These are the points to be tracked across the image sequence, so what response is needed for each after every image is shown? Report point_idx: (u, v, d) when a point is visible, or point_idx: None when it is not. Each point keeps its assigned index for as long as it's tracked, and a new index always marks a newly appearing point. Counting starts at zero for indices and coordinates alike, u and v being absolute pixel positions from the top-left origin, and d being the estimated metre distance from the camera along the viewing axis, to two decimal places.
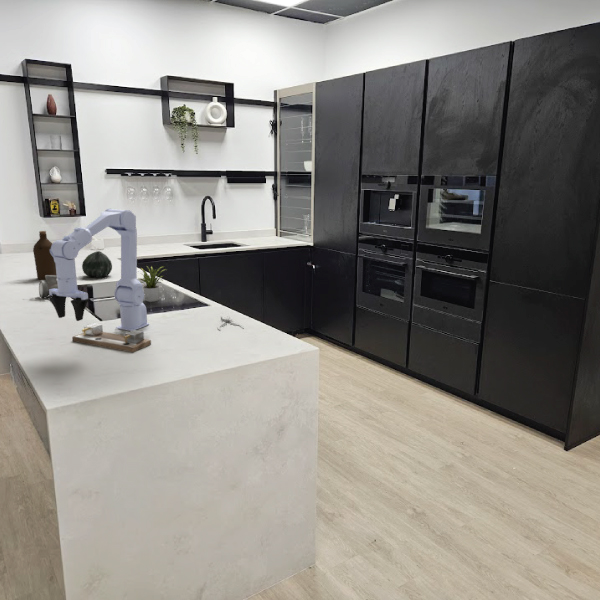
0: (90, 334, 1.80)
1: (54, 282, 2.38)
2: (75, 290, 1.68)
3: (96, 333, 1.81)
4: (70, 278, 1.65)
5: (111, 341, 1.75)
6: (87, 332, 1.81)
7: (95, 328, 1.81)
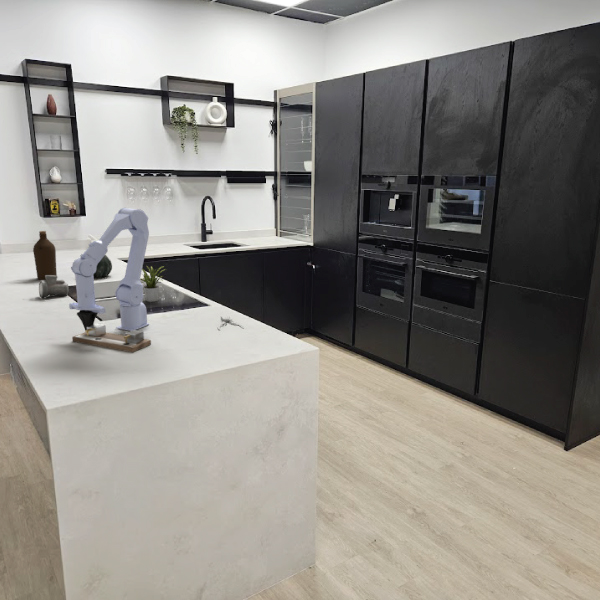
0: (93, 335, 1.80)
1: (54, 282, 2.38)
2: (93, 304, 1.80)
3: (99, 334, 1.81)
4: (87, 294, 1.78)
5: (111, 341, 1.75)
6: (90, 333, 1.80)
7: (98, 329, 1.80)
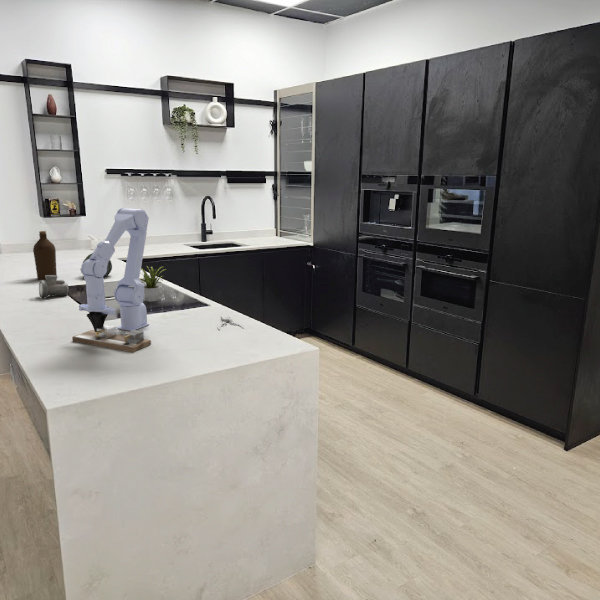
0: (103, 336, 1.78)
1: (54, 282, 2.38)
2: (103, 306, 1.79)
3: (109, 335, 1.79)
4: (99, 295, 1.76)
5: (111, 341, 1.75)
6: (100, 334, 1.79)
7: (109, 331, 1.79)
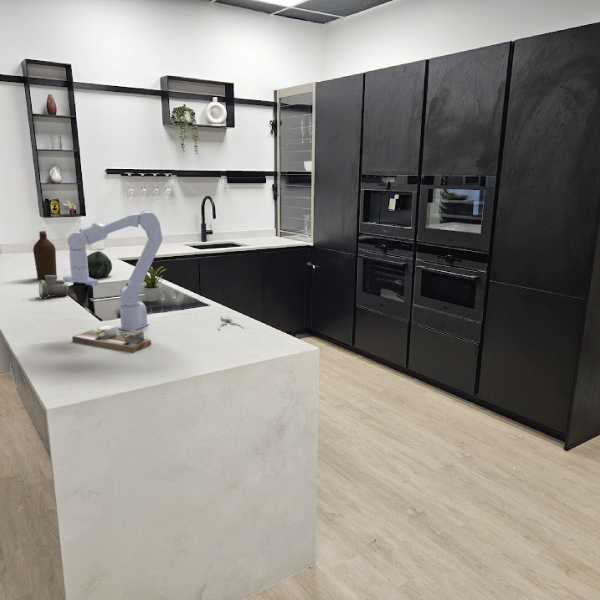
0: (104, 336, 1.78)
1: (54, 282, 2.38)
2: (87, 277, 1.85)
3: (110, 335, 1.79)
4: (76, 267, 1.82)
5: (111, 341, 1.75)
6: (101, 334, 1.79)
7: (109, 331, 1.79)
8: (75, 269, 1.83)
